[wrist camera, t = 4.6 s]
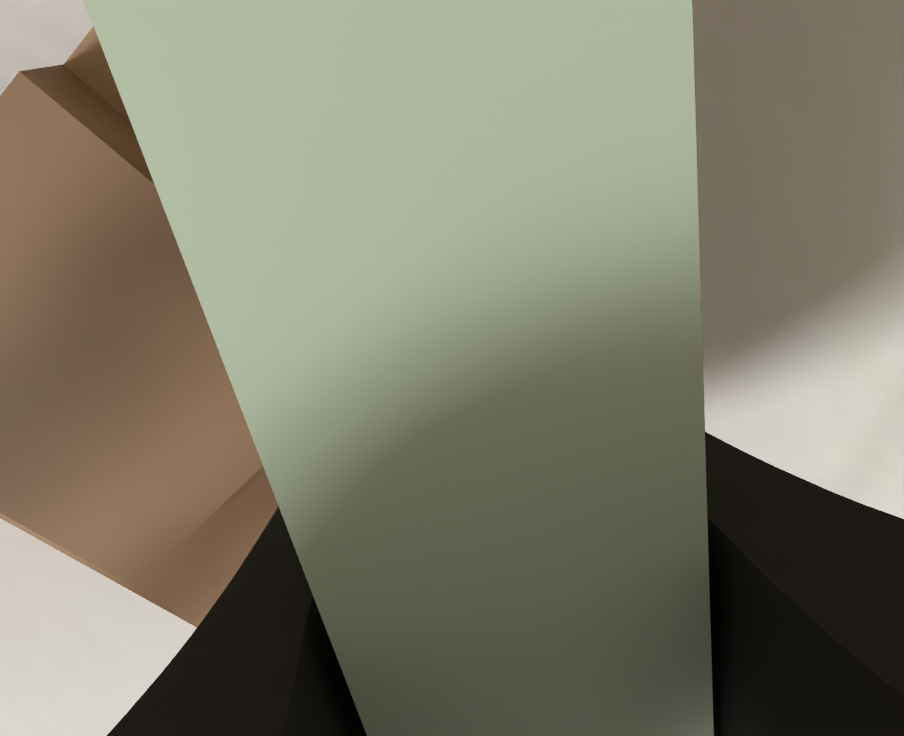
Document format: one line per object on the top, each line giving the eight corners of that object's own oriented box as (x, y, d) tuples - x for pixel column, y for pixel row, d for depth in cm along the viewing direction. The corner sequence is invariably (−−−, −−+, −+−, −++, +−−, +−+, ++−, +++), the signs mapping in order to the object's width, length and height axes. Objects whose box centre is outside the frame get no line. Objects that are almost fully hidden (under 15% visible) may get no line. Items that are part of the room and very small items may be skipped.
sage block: (587, 671, 15) (722, 1038, 9) (448, 705, 15) (506, 1096, 9) (470, -117, 8) (681, -360, 3) (223, -65, 8) (-2, -223, 3)
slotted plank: (697, 517, 22) (745, 586, 19) (423, 727, 24) (432, 814, 22) (142, -16, 14) (92, -24, 11) (-174, 383, 16) (-275, 454, 14)
